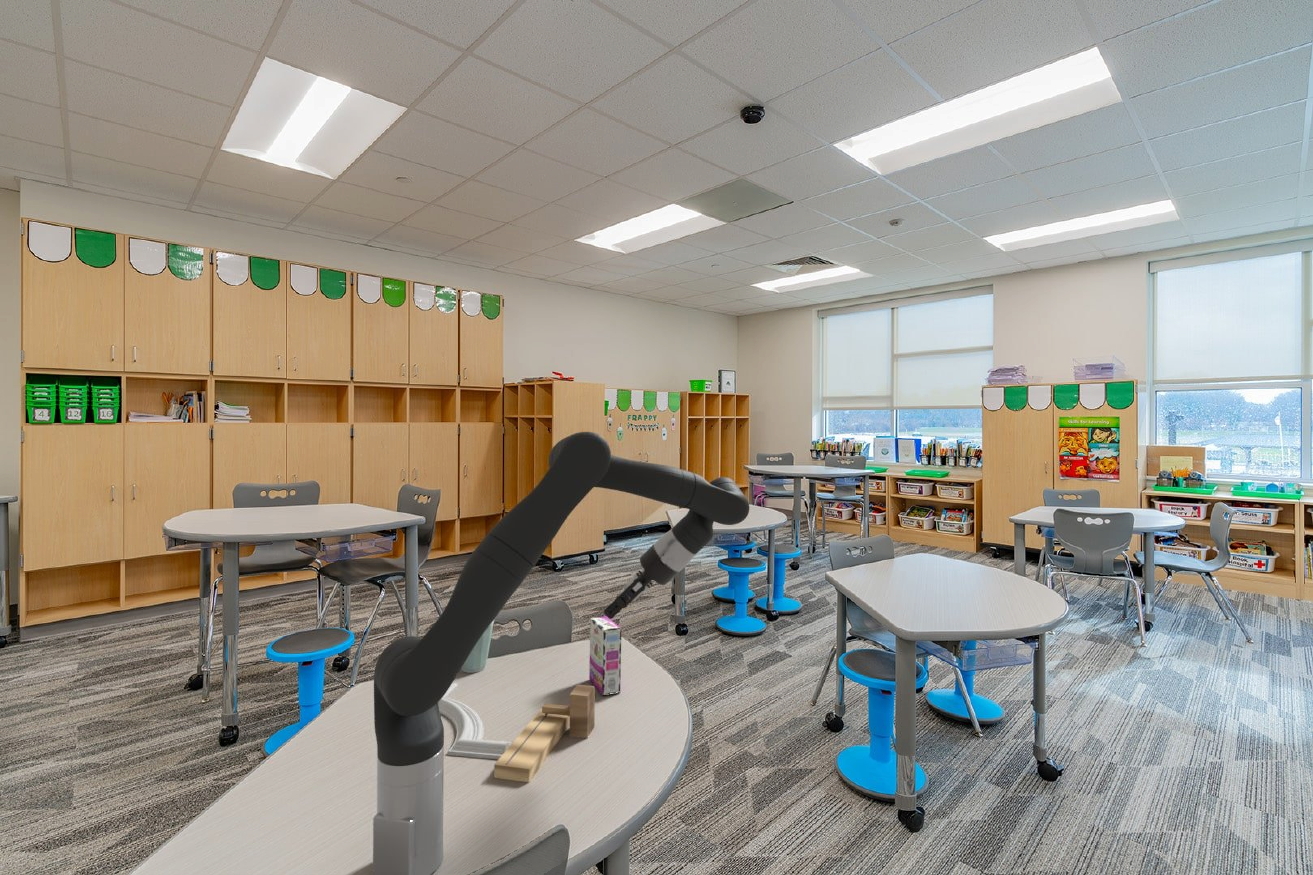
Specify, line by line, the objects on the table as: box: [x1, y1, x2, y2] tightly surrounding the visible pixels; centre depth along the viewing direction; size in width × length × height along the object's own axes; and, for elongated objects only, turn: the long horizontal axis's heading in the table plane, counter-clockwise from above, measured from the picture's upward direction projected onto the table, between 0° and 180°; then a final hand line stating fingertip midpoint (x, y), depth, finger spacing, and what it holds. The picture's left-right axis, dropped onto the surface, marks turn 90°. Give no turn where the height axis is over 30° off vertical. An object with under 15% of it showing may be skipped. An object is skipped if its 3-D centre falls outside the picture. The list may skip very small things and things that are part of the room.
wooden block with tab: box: [541, 684, 596, 739], centre depth 129 cm, size 5×11×9 cm, turn 79°
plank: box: [493, 708, 570, 783], centre depth 122 cm, size 24×7×3 cm, turn 169°
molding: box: [438, 682, 514, 760], centre depth 133 cm, size 42×12×3 cm, turn 37°
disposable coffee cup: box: [461, 619, 495, 674], centre depth 161 cm, size 11×11×15 cm
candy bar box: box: [588, 615, 623, 696], centre depth 151 cm, size 11×5×16 cm, turn 25°
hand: (612, 608), depth 122 cm, fingers open, 8 cm apart
